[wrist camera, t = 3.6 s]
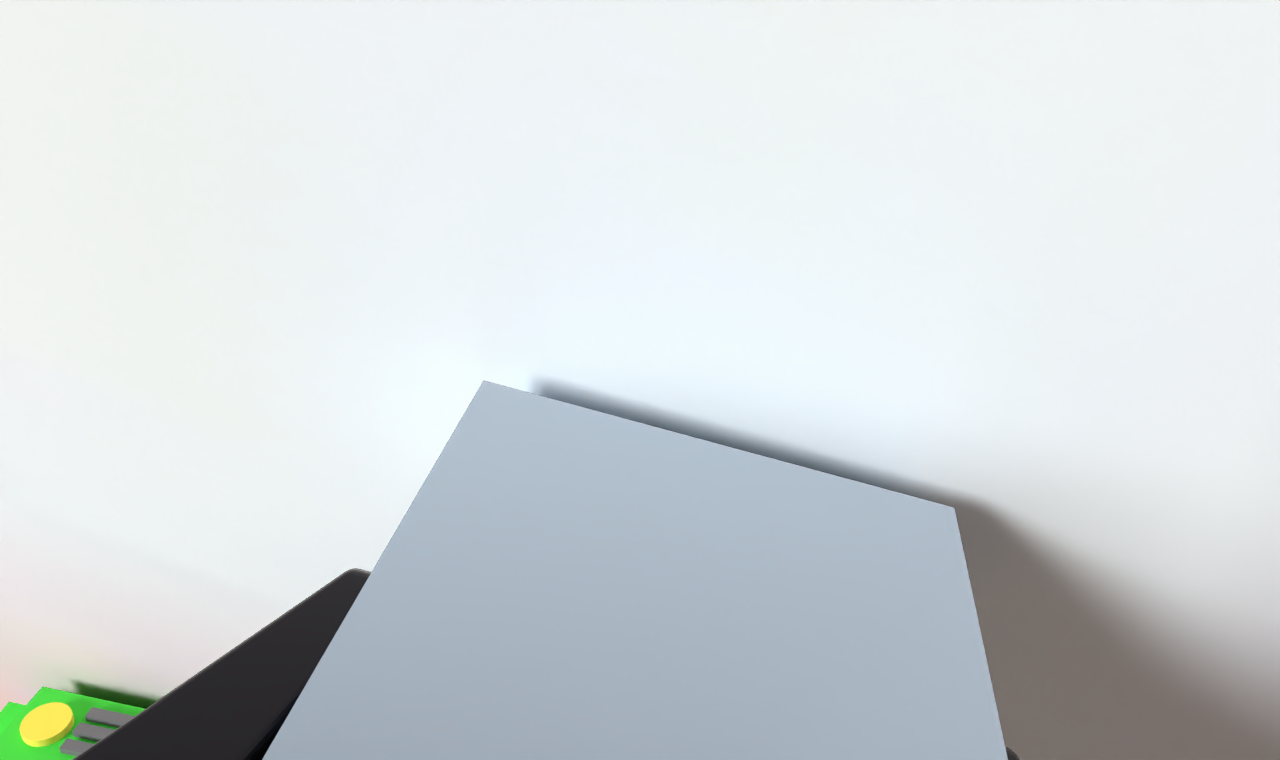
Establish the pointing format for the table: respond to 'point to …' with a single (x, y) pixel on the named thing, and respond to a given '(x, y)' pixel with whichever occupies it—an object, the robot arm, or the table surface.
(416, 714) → the tile
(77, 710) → the toy car
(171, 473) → the table surface
